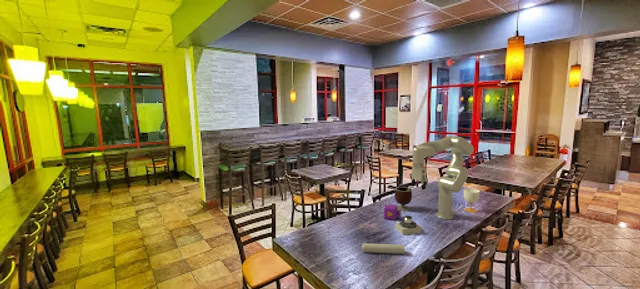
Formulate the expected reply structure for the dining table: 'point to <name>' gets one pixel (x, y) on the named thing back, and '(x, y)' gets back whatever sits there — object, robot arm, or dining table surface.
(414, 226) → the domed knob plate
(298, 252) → the dining table surface
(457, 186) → the robot arm
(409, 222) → the lens
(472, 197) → the cup
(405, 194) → the mate gourd
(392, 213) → the toy camera
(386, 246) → the tube
